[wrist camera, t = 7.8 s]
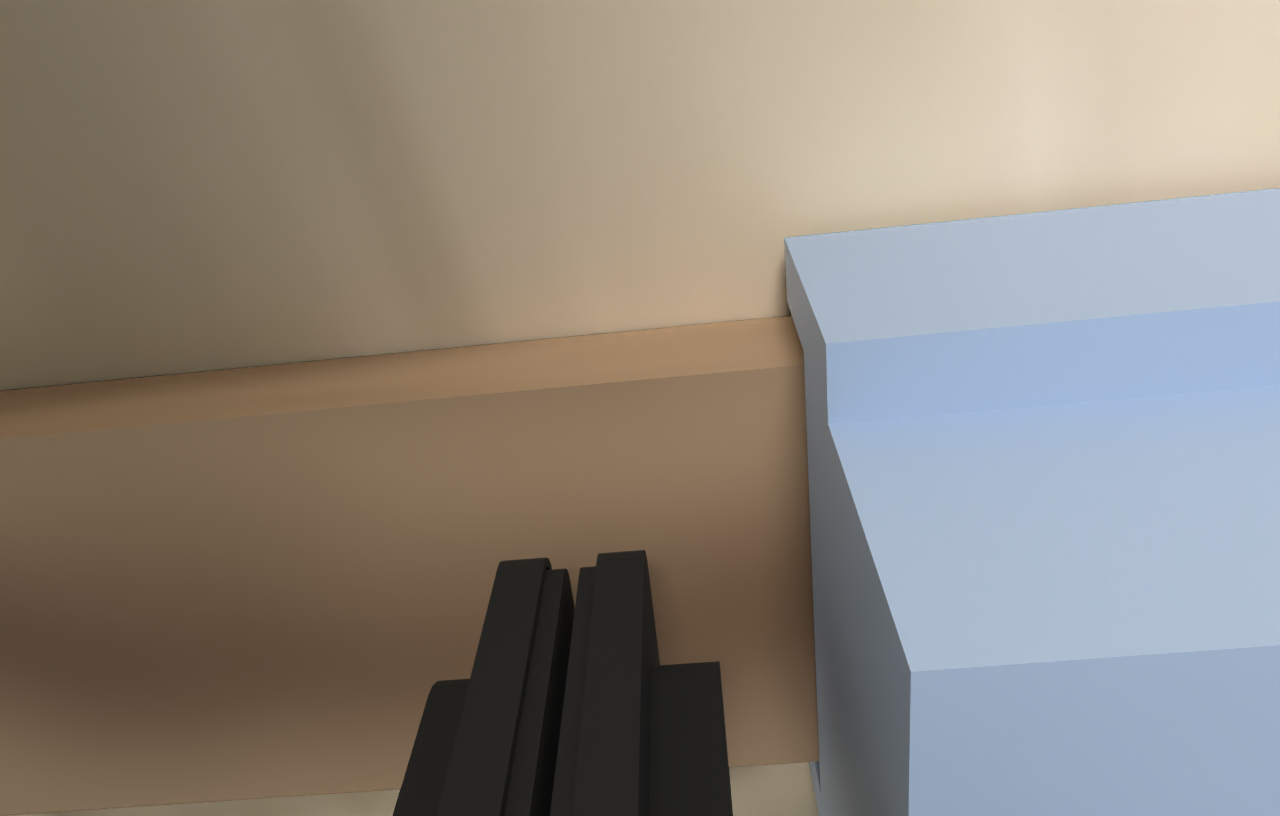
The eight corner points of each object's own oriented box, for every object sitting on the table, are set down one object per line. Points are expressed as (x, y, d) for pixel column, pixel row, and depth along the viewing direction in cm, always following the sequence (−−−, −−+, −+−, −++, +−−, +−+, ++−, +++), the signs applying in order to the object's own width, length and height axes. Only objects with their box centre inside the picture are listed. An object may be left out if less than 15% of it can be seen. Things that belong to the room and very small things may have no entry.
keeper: (784, 237, 12) (911, 565, 6) (1410, 174, 11) (2242, 460, 5) (807, 753, 15) (901, 1276, 9) (1279, 722, 15) (1687, 1250, 9)
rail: (-983, 415, 13) (-2089, 750, 8) (1682, 148, 11) (2628, 362, 6) (-592, 829, 17) (-1176, 1256, 11) (1489, 687, 15) (1968, 1130, 9)
